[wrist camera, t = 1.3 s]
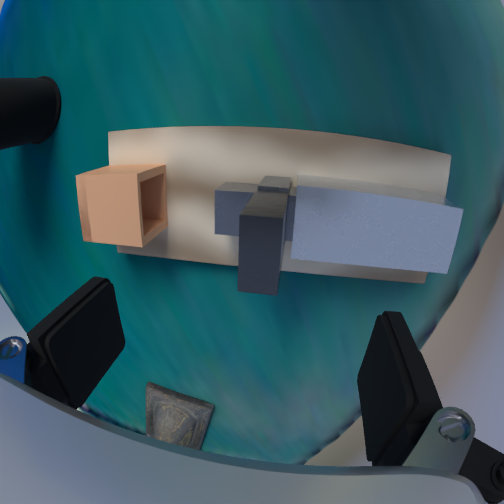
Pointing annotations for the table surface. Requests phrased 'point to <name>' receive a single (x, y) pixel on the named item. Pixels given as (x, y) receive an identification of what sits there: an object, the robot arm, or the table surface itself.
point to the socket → (123, 203)
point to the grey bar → (257, 228)
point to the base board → (253, 171)
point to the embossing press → (176, 417)
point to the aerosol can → (27, 110)
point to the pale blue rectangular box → (373, 225)
